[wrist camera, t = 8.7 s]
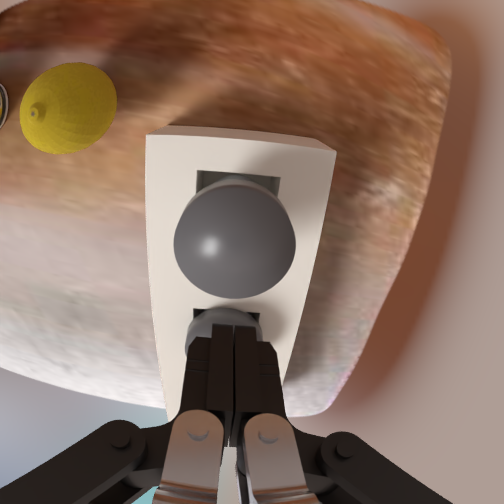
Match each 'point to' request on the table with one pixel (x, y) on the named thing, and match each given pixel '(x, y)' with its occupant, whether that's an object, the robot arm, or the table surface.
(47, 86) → the lemon
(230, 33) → the table surface
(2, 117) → the supplement bottle
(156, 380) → the table surface
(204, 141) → the knob panel
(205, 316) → the knob middle
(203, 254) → the knob
